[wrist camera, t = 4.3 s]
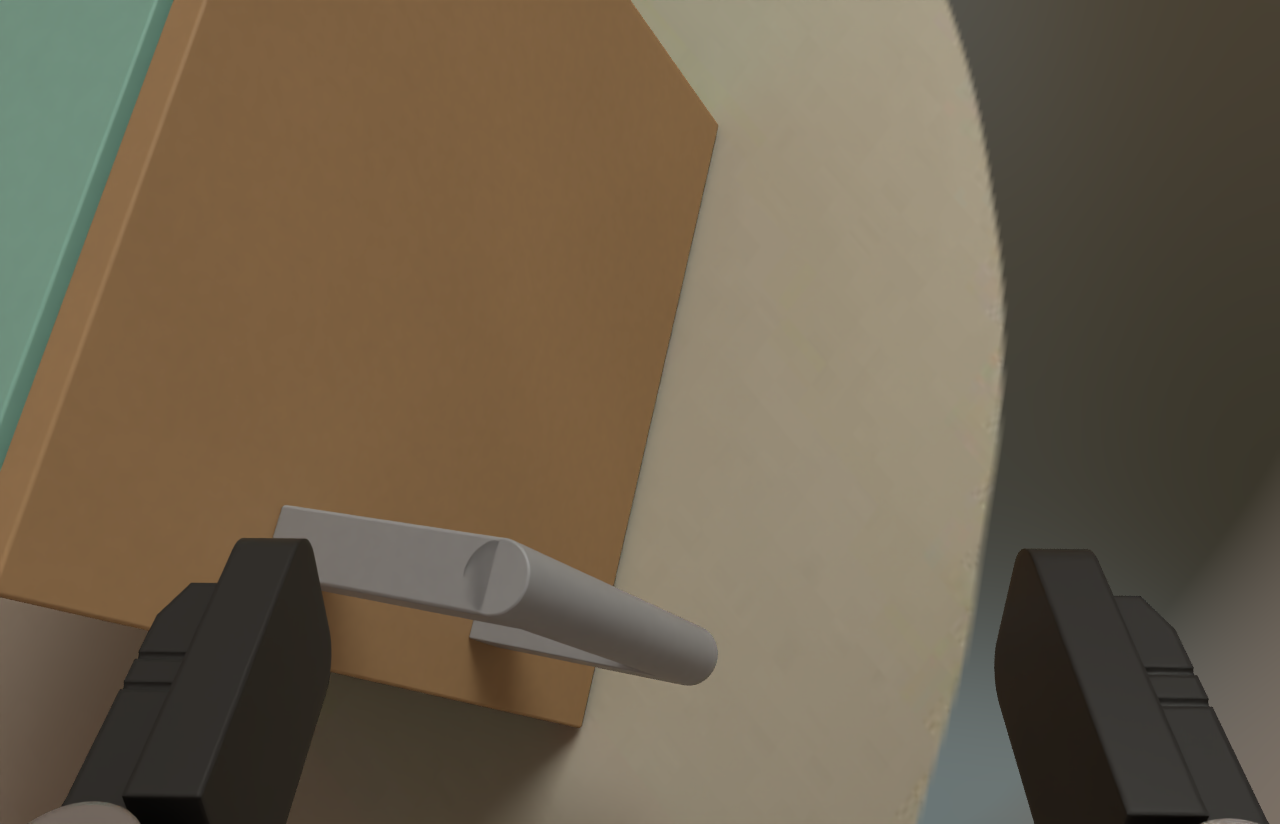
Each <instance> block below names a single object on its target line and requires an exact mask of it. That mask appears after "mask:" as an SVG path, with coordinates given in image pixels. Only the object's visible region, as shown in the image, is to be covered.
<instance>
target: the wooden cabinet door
mask: <svg viewBox="0 0 1280 824" xmlns="http://www.w3.org/2000/svg"><path fill="white" fill-rule="evenodd" d="M717 129H718V124H717V123H716V121H715V120H714V118H713V117H712V115H711V114H710V113H709V111H708V110H707V108H706V107H705V105H704V104H703V103H702V101H701V100H700V98H699V97H698V96H697V94H696V93H695V91H694V90H693V88H692V87H691V86H690V84H689V83H688V81H687V80H686V78H685V77H684V76H683V74H682V73H681V71H680V70H679V69H678V67H677V66H676V64H675V63H674V61H673V60H672V59H671V57H670V56H669V54H668V53H667V51H666V50H665V49H664V47H663V46H662V44H661V43H660V41H659V40H658V39H657V37H656V36H655V34H654V33H653V32H652V30H651V29H650V27H649V26H648V24H647V23H646V22H645V20H644V19H643V17H642V16H641V14H640V13H639V12H638V10H637V9H636V7H635V6H634V4H633V3H632V2H631V0H173V3H172V6H171V8H170V11H169V14H168V17H167V19H166V22H165V25H164V28H163V30H162V33H161V36H160V38H159V41H158V44H157V47H156V49H155V52H154V55H153V57H152V60H151V63H150V66H149V68H148V71H147V74H146V76H145V79H144V82H143V85H142V87H141V90H140V93H139V95H138V98H137V101H136V104H135V106H134V109H133V112H132V114H131V117H130V120H129V123H128V125H127V128H126V131H125V133H124V136H123V139H122V142H121V144H120V147H119V150H118V152H117V155H116V158H115V161H114V163H113V166H112V169H111V172H110V174H109V177H108V180H107V182H106V185H105V188H104V191H103V193H102V196H101V199H100V201H99V204H98V207H97V210H96V212H95V215H94V218H93V220H92V223H91V226H90V229H89V231H88V234H87V237H86V239H85V242H84V245H83V248H82V250H81V253H80V256H79V258H78V261H77V264H76V267H75V269H74V272H73V275H72V277H71V280H70V283H69V286H68V288H67V291H66V294H65V296H64V299H63V302H62V305H61V307H60V310H59V313H58V315H57V318H56V321H55V324H54V326H53V329H52V332H51V335H50V337H49V340H48V343H47V345H46V348H45V351H44V354H43V356H42V359H41V362H40V364H39V367H38V370H37V373H36V375H35V378H34V381H33V383H32V386H31V389H30V392H29V394H28V397H27V400H26V402H25V405H24V408H23V411H22V413H21V416H20V419H19V421H18V424H17V427H16V430H15V432H14V435H13V438H12V440H11V443H10V446H9V449H8V451H7V454H6V457H5V459H4V462H3V465H2V468H1V470H0V597H2V598H6V599H10V600H15V601H19V602H24V603H28V604H32V605H37V606H41V607H46V608H50V609H55V610H59V611H63V612H68V613H72V614H77V615H81V616H85V617H90V618H94V619H99V620H103V621H108V622H112V623H116V624H121V625H125V626H130V627H134V628H138V629H143V630H147V631H149V630H150V627H151V625H152V623H153V621H154V619H155V617H156V615H157V614H158V613H159V612H160V611H161V610H162V609H163V608H165V607H166V606H167V605H168V604H169V603H170V602H171V601H172V600H173V599H174V598H175V597H176V596H177V595H178V594H179V593H181V592H182V591H183V590H184V589H185V588H186V587H187V586H188V585H189V584H190V583H218V580H219V578H220V576H221V574H222V571H223V569H224V567H225V565H226V562H227V560H228V558H229V556H230V554H231V551H232V549H233V547H234V545H235V544H236V542H237V541H238V540H239V539H241V538H305V539H308V540H309V542H310V543H311V545H312V548H313V552H314V556H315V561H316V566H317V571H318V575H319V580H320V585H321V590H322V595H323V600H324V605H325V610H326V615H327V620H328V625H329V630H330V635H331V648H332V657H331V670H330V672H333V673H337V674H342V675H346V676H350V677H355V678H359V679H364V680H368V681H372V682H377V683H381V684H386V685H390V686H395V687H399V688H403V689H408V690H412V691H417V692H421V693H425V694H430V695H434V696H439V697H443V698H448V699H452V700H456V701H461V702H465V703H470V704H474V705H478V706H483V707H487V708H492V709H496V710H501V711H505V712H509V713H514V714H518V715H523V716H527V717H531V718H536V719H540V720H545V721H549V722H554V723H558V724H562V725H567V726H571V727H576V728H580V727H581V726H582V721H583V717H584V712H585V708H586V704H587V699H588V695H589V691H590V686H591V682H592V677H593V673H594V669H595V667H597V668H602V669H607V670H612V671H617V672H622V673H627V674H632V675H636V676H641V677H646V678H651V679H656V680H661V681H666V682H671V683H676V684H681V685H696V684H699V683H701V682H702V681H704V680H705V679H707V678H708V677H709V676H710V674H711V673H712V672H713V670H714V668H715V666H716V663H717V657H718V650H717V645H716V642H715V640H714V638H713V636H712V635H711V634H710V633H709V632H708V631H707V630H706V629H704V628H702V627H700V626H698V625H696V624H694V623H692V622H689V621H687V620H685V619H683V618H681V617H679V616H676V615H674V614H672V613H670V612H668V611H666V610H663V609H661V608H659V607H657V606H655V605H653V604H650V603H648V602H646V601H644V600H642V599H640V598H637V597H635V596H633V595H631V594H629V593H627V592H624V591H622V590H620V589H618V588H616V587H614V586H613V585H614V581H615V577H616V572H617V568H618V563H619V559H620V555H621V550H622V546H623V541H624V537H625V533H626V528H627V524H628V519H629V515H630V511H631V506H632V502H633V498H634V493H635V489H636V484H637V480H638V476H639V471H640V467H641V462H642V458H643V454H644V449H645V445H646V441H647V436H648V432H649V427H650V423H651V419H652V414H653V410H654V405H655V401H656V397H657V392H658V388H659V384H660V379H661V375H662V370H663V366H664V362H665V357H666V353H667V348H668V344H669V340H670V335H671V331H672V327H673V322H674V318H675V313H676V309H677V305H678V300H679V296H680V291H681V287H682V283H683V278H684V274H685V269H686V265H687V261H688V256H689V252H690V248H691V243H692V239H693V234H694V230H695V226H696V221H697V217H698V212H699V208H700V204H701V199H702V195H703V191H704V186H705V182H706V177H707V173H708V169H709V164H710V160H711V155H712V151H713V147H714V142H715V138H716V134H717Z"/></svg>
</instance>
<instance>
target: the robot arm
mask: <svg viewBox="0 0 1280 824" xmlns="http://www.w3.org/2000/svg"><path fill="white" fill-rule="evenodd" d="M331 657H332V648H331V635H330V630H329V625H328V620H327V615H326V610H325V605H324V600H323V595H322V590H321V585H320V580H319V575H318V571H317V566H316V561H315V556H314V552H313V548H312V545H311V543H310V542H309V540H308V539H305V538H241V539H239V540H238V541H237V542H236V544H235V545H234V547H233V549H232V551H231V554H230V556H229V558H228V560H227V562H226V565H225V567H224V569H223V571H222V574H221V576H220V578H219V580H218V583H190V584H189V585H188V586H187V587H186V588H185V589H184V590H183V591H182V592H181V593H179V594H178V595H177V596H176V597H175V598H174V599H173V600H172V601H171V602H170V603H169V604H168V605H167V606H166V607H165V608H163V609H162V610H161V611H160V612H159V613H158V614H157V615H156V617H155V619H154V621H153V623H152V625H151V627H150V630H149V632H148V634H147V636H146V638H145V640H144V642H143V644H142V646H141V648H140V650H139V657H138V659H135V660H134V662H133V664H132V666H131V668H130V670H129V672H128V674H127V676H126V678H125V680H124V688H123V689H120V690H119V692H118V694H117V696H116V698H115V700H114V702H113V704H112V706H111V708H110V710H109V713H108V715H107V717H106V719H105V721H104V723H103V725H102V727H101V729H100V731H99V733H98V735H97V737H96V739H95V741H94V743H93V745H92V747H91V749H90V751H89V753H88V755H87V757H86V759H85V761H84V763H83V765H82V767H81V769H80V771H79V773H78V775H77V777H76V779H75V781H74V783H73V785H72V787H71V789H70V791H69V794H68V796H67V798H66V799H65V801H64V803H63V804H62V806H61V807H59V808H57V809H54V810H52V811H49V812H47V813H45V814H43V815H41V816H39V817H38V818H36V819H34V820H32V821H31V822H30V823H28V824H286V821H287V818H288V815H289V812H290V808H291V805H292V802H293V799H294V795H295V792H296V789H297V786H298V782H299V779H300V776H301V773H302V769H303V766H304V763H305V760H306V756H307V753H308V750H309V747H310V743H311V740H312V737H313V734H314V730H315V727H316V724H317V721H318V717H319V714H320V711H321V708H322V704H323V701H324V698H325V695H326V691H327V688H328V683H329V678H330V670H331ZM994 665H995V666H994V669H995V684H996V691H997V696H998V701H999V705H1000V708H1001V711H1002V715H1003V718H1004V722H1005V725H1006V728H1007V732H1008V735H1009V739H1010V742H1011V745H1012V749H1013V752H1014V755H1015V759H1016V762H1017V766H1018V769H1019V772H1020V776H1021V779H1022V783H1023V786H1024V790H1025V793H1026V796H1027V800H1028V803H1029V807H1030V810H1031V814H1032V817H1033V820H1034V824H1269V823H1268V821H1267V819H1266V817H1265V815H1264V813H1263V811H1262V809H1261V807H1260V805H1259V803H1258V801H1257V799H1256V797H1255V794H1254V793H1253V790H1252V788H1251V786H1250V784H1249V782H1248V780H1247V778H1246V776H1245V774H1244V772H1243V769H1242V767H1241V765H1240V763H1239V761H1238V759H1237V757H1236V755H1235V753H1234V751H1233V749H1232V747H1231V745H1230V743H1229V741H1228V738H1227V736H1226V734H1225V732H1224V730H1223V728H1222V726H1221V724H1220V722H1219V720H1218V718H1217V716H1216V713H1215V711H1214V709H1213V707H1209V705H1208V697H1207V695H1206V693H1205V691H1204V688H1203V686H1202V684H1201V682H1200V680H1199V678H1198V676H1197V675H1194V673H1193V666H1192V664H1191V661H1190V660H1189V657H1188V655H1187V653H1186V651H1185V649H1184V647H1183V645H1182V643H1181V641H1180V639H1179V636H1178V635H1177V632H1176V631H1175V629H1174V628H1173V627H1172V626H1171V625H1170V624H1169V623H1168V622H1166V621H1165V619H1164V618H1162V617H1161V616H1160V615H1159V614H1158V613H1157V612H1156V611H1155V610H1154V609H1153V608H1152V607H1151V606H1150V605H1149V604H1148V603H1147V602H1146V601H1145V600H1144V599H1143V598H1142V597H1141V596H1113V594H1112V591H1111V589H1110V587H1109V584H1108V582H1107V580H1106V578H1105V575H1104V573H1103V571H1102V568H1101V566H1100V564H1099V561H1098V559H1097V558H1096V556H1095V555H1094V553H1093V552H1092V551H1091V550H1088V549H1022V550H1021V551H1020V552H1019V553H1018V555H1017V557H1016V561H1015V564H1014V568H1013V573H1012V577H1011V582H1010V586H1009V590H1008V594H1007V599H1006V603H1005V607H1004V612H1003V616H1002V621H1001V625H1000V629H999V634H998V639H997V643H996V648H995V664H994Z"/></svg>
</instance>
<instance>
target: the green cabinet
mask: <svg viewBox="0 0 1280 824" xmlns="http://www.w3.org/2000/svg"><path fill="white" fill-rule="evenodd" d="M172 3H173V0H0V470H1V468H2V465H3V462H4V459H5V457H6V454H7V451H8V449H9V446H10V443H11V440H12V438H13V435H14V432H15V430H16V427H17V424H18V421H19V419H20V416H21V413H22V411H23V408H24V405H25V402H26V400H27V397H28V394H29V392H30V389H31V386H32V383H33V381H34V378H35V375H36V373H37V370H38V367H39V364H40V362H41V359H42V356H43V354H44V351H45V348H46V345H47V343H48V340H49V337H50V335H51V332H52V329H53V326H54V324H55V321H56V318H57V315H58V313H59V310H60V307H61V305H62V302H63V299H64V296H65V294H66V291H67V288H68V286H69V283H70V280H71V277H72V275H73V272H74V269H75V267H76V264H77V261H78V258H79V256H80V253H81V250H82V248H83V245H84V242H85V239H86V237H87V234H88V231H89V229H90V226H91V223H92V220H93V218H94V215H95V212H96V210H97V207H98V204H99V201H100V199H101V196H102V193H103V191H104V188H105V185H106V182H107V180H108V177H109V174H110V172H111V169H112V166H113V163H114V161H115V158H116V155H117V152H118V150H119V147H120V144H121V142H122V139H123V136H124V133H125V131H126V128H127V125H128V123H129V120H130V117H131V114H132V112H133V109H134V106H135V104H136V101H137V98H138V95H139V93H140V90H141V87H142V85H143V82H144V79H145V76H146V74H147V71H148V68H149V66H150V63H151V60H152V57H153V55H154V52H155V49H156V47H157V44H158V41H159V38H160V36H161V33H162V30H163V28H164V25H165V22H166V19H167V17H168V14H169V11H170V8H171V6H172Z"/></svg>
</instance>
